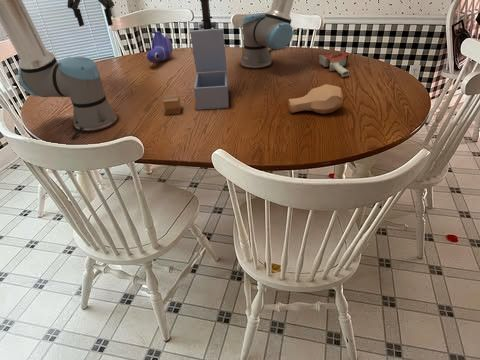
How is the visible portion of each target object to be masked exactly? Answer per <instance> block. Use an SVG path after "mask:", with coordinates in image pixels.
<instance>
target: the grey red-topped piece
mask: <svg viewBox="0 0 480 360" xmlns="http://www.w3.org/2000/svg"><path fill="white" fill-rule="evenodd" d="M336 55H337V56H336ZM334 56H336V57H334ZM348 60H349V54H348V53H347V52H346V51H338V52H333V53H326V54H319V61H318V63H319V65H322V66H323V67H325V68H328V67H329V72H335V71H336V72H337V73H338V74H339V75H341V78H344V77H347V76H349V75H350V70H349V69H346V68H345V67H344V66H347V64H348Z"/></svg>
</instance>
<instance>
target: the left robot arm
mask: <svg viewBox="0 0 480 360" xmlns="http://www.w3.org/2000/svg"><path fill="white" fill-rule="evenodd" d="M97 1H98V2H99V3H100V4H101V5H102V6H103V7H104V10H103V11H104V13H105V14H104V15H105V19H106V22H107V25H108V26H107V27H110V26H113V19H112V17H113V12H112V8H113V7H115V3H114V1H113V0H97ZM80 4H81V0H67V8H68V9H71V10H72V11H73V14H74V17H75V18H76V19H77V23H78V26H79V27H83V26H85V23H84V18H83V16H82V12H81V9H80V8H79V5H80ZM0 25H1V26H2V29H3V30H4V32H5V34H6V36H7V37H8V39H9V41H10V43H11V45H12V46H13V48H14V49H15V51H16V54H17V55H18V57H19V62H18V70H17V75H18V80H19V84H20V86H21V87H22V89H23V90H24V91H25V92H26V93H28V94H29V95H31V96H33V97H40V98H69V99H70V101H71V104H72V108H73V114H72V117H73V118H72V119H73V125H74V128H75V129H76V131H75V133H74V134H72V136H71V138H72V139H75V138H76V137H77V135H78V134H79V133H80V132H84V133H92V132H99V131H102V130H105V129H107V128H110V127H111V126H113V125H115V124H116V122H117V121H118V116H117V114H116V111H115V110H114V108H113V107H112V105H111V103H110V102H109V101H108V99H107V96H106V92H105V89H104V87H103V86H104V85H103V83H102V79H101V73H100V71H99V69H98V66H97V64H96V62H95V61H94V60H93V59H91V58H88V57H86V56H85V57H84V56H68V57H65V58H61V59H60V60H59V61H58V60H57V58H56V56H55V54H54V53H53V52H51V51H48V50H47V48H46V46H45V44H44V42H43V40H42V38H41V36H40V35H39V32H38V30H37V27H36V26H35V24H34V22H33V20H32V18H31V16H30V13H29V12H28V10H27V8H26V6H25V4H24V2H23V0H0Z"/></svg>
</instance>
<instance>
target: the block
mask: <svg viewBox="0 0 480 360" xmlns="http://www.w3.org/2000/svg"><path fill="white" fill-rule="evenodd" d="M162 103H163V106H164V113H165V115H166V116H168V115H180V114H181V110H182V105H181V97H180V94H171V95H170V94H169V95H164V97H163V101H162Z"/></svg>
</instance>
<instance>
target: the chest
mask: <svg viewBox="0 0 480 360" xmlns="http://www.w3.org/2000/svg"><path fill="white" fill-rule="evenodd" d="M228 83H229V82H228V71H212V72H196V74H195V80H194V86H193V92H194V101H195V107H196V110H197V111H199V110H213V109H215V110H216V109H229V108H230V107H229V106H230V105H229V104H230V103H229V84H228Z"/></svg>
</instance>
